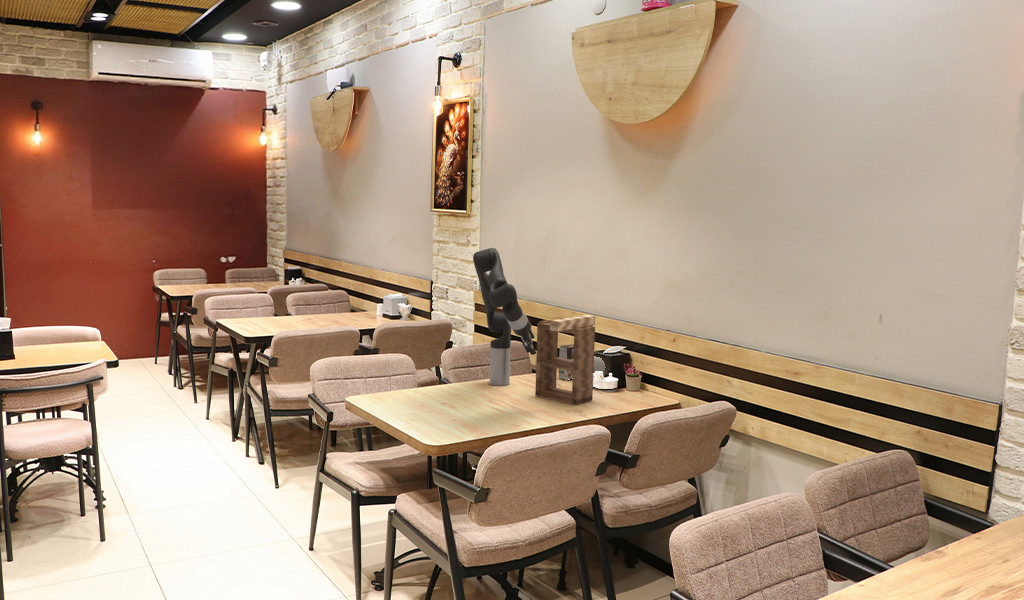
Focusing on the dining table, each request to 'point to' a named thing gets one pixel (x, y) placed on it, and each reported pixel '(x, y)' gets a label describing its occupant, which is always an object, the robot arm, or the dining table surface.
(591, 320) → the beech bar
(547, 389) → the walnut shelf
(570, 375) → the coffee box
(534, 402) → the dining table surface
